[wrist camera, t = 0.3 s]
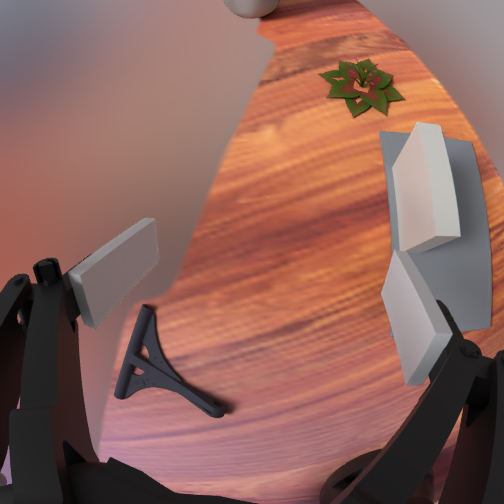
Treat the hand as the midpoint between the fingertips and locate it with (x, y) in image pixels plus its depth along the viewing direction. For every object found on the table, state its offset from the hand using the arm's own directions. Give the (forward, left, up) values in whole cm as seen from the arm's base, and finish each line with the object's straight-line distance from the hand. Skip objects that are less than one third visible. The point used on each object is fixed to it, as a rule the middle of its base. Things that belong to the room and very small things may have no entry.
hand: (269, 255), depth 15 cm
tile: (+7, -13, -16) cm, 22 cm away
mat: (+5, -18, -16) cm, 25 cm away
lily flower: (+25, -10, -17) cm, 32 cm away
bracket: (-14, +14, -17) cm, 26 cm away
